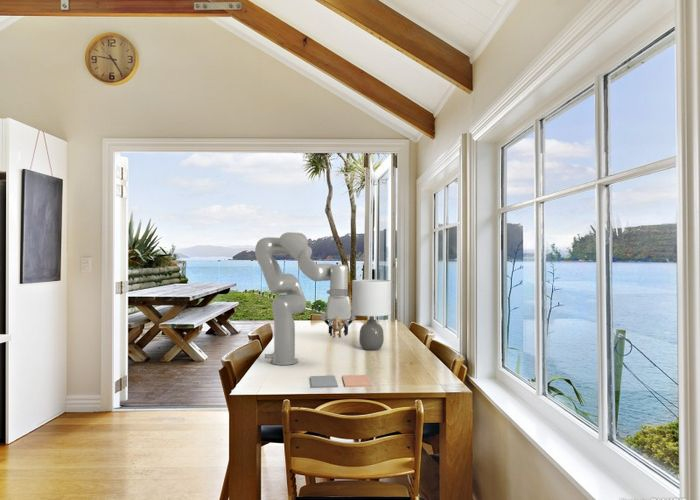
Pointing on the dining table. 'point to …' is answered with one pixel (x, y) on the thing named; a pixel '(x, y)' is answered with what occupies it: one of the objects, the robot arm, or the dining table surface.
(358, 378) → the terracotta tile
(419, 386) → the dining table surface
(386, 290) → the lamp
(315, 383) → the slate tile
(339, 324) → the lion figurine
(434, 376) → the dining table surface
